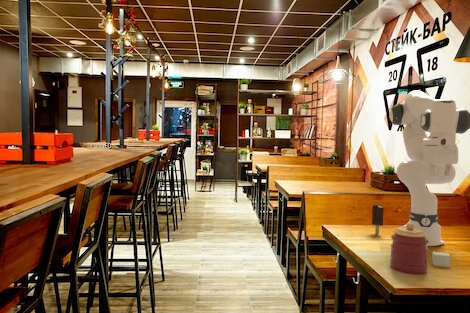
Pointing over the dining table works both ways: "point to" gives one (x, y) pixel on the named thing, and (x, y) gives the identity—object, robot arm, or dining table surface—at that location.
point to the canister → (409, 250)
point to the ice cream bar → (377, 217)
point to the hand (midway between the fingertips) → (440, 176)
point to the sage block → (441, 259)
